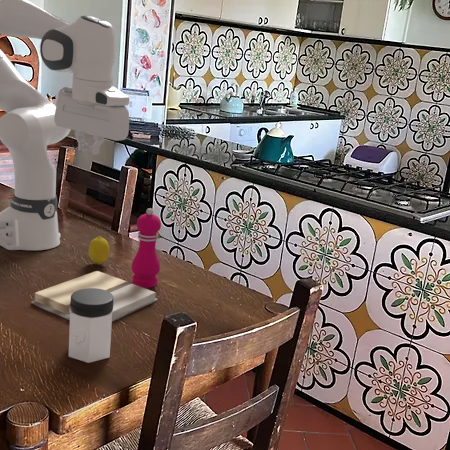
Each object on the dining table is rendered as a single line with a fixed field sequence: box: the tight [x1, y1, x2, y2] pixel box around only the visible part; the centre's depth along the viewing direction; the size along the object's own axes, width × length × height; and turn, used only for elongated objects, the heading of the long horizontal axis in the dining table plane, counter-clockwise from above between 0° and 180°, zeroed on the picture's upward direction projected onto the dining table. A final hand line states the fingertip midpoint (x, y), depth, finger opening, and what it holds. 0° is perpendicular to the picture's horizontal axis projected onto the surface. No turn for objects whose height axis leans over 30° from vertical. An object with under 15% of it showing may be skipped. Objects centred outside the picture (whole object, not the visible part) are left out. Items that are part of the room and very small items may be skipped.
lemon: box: [88, 235, 110, 265], centre depth 167 cm, size 6×6×8 cm
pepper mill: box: [130, 207, 162, 289], centre depth 156 cm, size 7×7×20 cm
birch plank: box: [34, 270, 128, 314], centre depth 147 cm, size 10×20×2 cm, turn 148°
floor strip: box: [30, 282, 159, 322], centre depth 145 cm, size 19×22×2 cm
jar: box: [68, 288, 114, 364], centre depth 121 cm, size 9×8×12 cm
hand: (88, 152), depth 144 cm, fingers open, 2 cm apart
